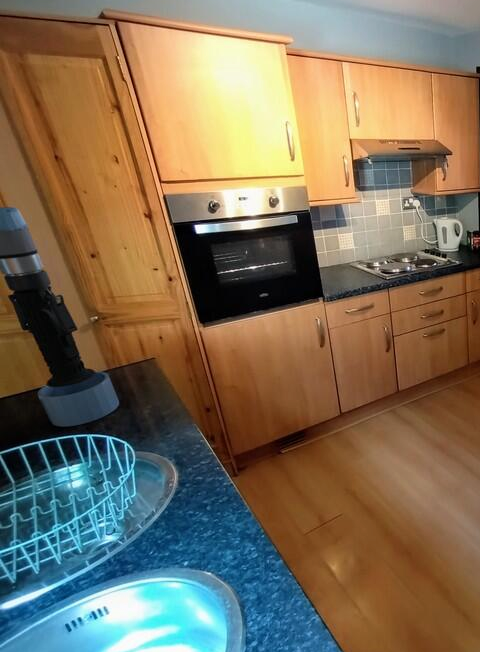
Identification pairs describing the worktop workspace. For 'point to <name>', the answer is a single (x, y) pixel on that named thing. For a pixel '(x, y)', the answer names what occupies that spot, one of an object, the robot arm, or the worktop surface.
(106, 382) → the blue round bowl
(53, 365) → the handle grip
